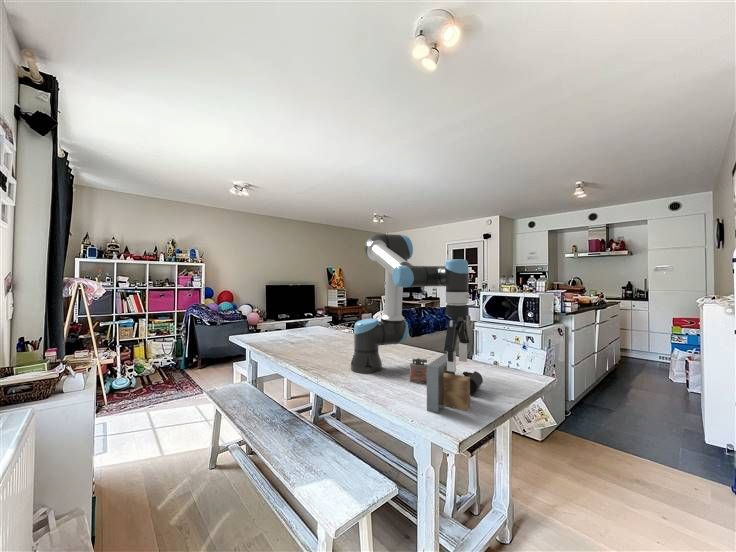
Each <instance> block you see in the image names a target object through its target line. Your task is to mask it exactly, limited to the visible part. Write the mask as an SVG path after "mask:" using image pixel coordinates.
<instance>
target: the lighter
mask: <svg viewBox="0 0 736 552" xmlns="http://www.w3.org/2000/svg"><path fill="white" fill-rule="evenodd" d="M426 363H428V360H427V358H420V357H417V358H412V362H410V363H409V382H410V383H414V384H419V385H421V384H422V385H427V365H428V364H426Z"/></svg>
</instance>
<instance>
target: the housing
mask: <svg viewBox="0 0 736 552" xmlns="http://www.w3.org/2000/svg"><path fill="white" fill-rule="evenodd" d="M444 373H448V374H454V375H456V372H452V371H447V353H443V354H442V355H440V356H439V357H438V358H436V359H434V360H433V361H432V362H430V363H429V364H427V384H426V411H428V412H431V413H435V414H439V413H440V412H441V411H442V410H443V409H444V407H445V406H444Z"/></svg>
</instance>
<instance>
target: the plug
mask: <svg viewBox="0 0 736 552" xmlns="http://www.w3.org/2000/svg"><path fill="white" fill-rule="evenodd" d="M460 375H461V374H460ZM460 375H459V374H455V375H454V374H448V373H444V407H448V408H454V409H457V410H462V411H465V412H467V411H468V409H469V408H471V407H470V406H471V396H470V377H466V376H464V375H461V376H460Z"/></svg>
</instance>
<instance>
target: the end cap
mask: <svg viewBox="0 0 736 552" xmlns="http://www.w3.org/2000/svg"><path fill="white" fill-rule="evenodd" d="M461 374H462V375H461ZM461 374H460V376H466V377H470V397H471V396H473V395H474V394H476V392H478V390H479V389H480V387H481V386H482V384H483V382H484V380H483V376H482V375H481V373H480V372H479V371H477V370H476V371H475V370H474V371H473V372H469V371H462V373H461Z"/></svg>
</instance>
